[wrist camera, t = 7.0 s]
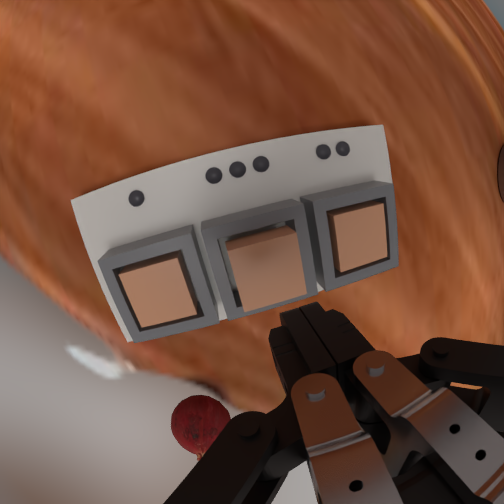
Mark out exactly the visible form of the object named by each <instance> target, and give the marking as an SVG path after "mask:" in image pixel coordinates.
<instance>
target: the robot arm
mask: <svg viewBox="0 0 504 504" xmlns="http://www.w3.org/2000/svg"><path fill="white" fill-rule="evenodd" d="M498 181H499V189H500V193H501V197H502V199H503V201H504V146H503V148H502V150H501V153H500V157H499V164H498ZM280 320H281V325H282V326H280V327H277V328H274V329H271V331H270V335H269V343H270V347H271V351H272V355H273V359H274V363H275V367H276V370H277V372H278V375H279V377H280V380H281V383H282V385H283V388H284V390H285V393H286V398H285V399H284V401H283V402H282V403H281V404H280V405H279V406H278V407H277V408H275V409H274V410H272V411H270V412H269V413H267V414H265V413H262V412H257V411H250V412H244V413H241V414H239V415H237V416H235V417H234V418H232V419H231V420H230V421H229V422H228V423H227V424H226V426H225V427H224V428H223V430H222V431H221V433H220V434H219V435H218V437H217V438H216V439H215V441H214V442H213V443H212V445H211V446H210V447H209V449H208V450H207V451H206V452H205V454H204V455H203V456H202V458H201V459H200V460H199V461H198V463H197V464H196V465H195V467H194V468H193V469H192V470H191V471H190V473H189V474H188V475H187V477H186V478H185V479H184V480H183V481H182V482H181V484H180V485H179V486H178V487H177V488H176V490H175V491H174V492H173V493H172V494H171V495H170V496H169V498H168V499H167V500H166V501H165V502H164V503H163V504H271V503H272V501H273V499H274V498H275V496H276V494H277V493H278V491H279V489H280V487H281V486H282V484H283V482H284V480H285V478H286V477H287V475H288V472H289V471H290V470H292V469H294V468H295V467H297V466H298V465H300V464H301V463H303V462H304V461H307V465H308V468H309V472H310V475H311V479H312V482H313V486H314V490H315V495H316V498H317V502H318V504H504V346H502V345H493V344H485V343H478V342H470V341H463V340H456V339H450V338H443V337H437V338H432V339H430V340H428V341H426V342H425V343H424V344H423V345H422V347H421V351H420V354H416V355H412V356H407V357H402V358H395V357H394V356H393V355H391V354H390V353H388V352H385V351H379V350H375V349H374V348H373V346H372V345H371V344H370V343H369V342H368V341H367V340H366V339H365V337H364V336H363V335H362V334H361V333H360V332H359V331H358V330H357V329H356V328H355V326H354V325H353V324H352V323H350V321H349V320H348V318H347V317H346V316H345V315H344V314H343V313H340V312H338V311H336V310H334V309H332V310H329V311H326V312H325V310H324V309H323V308H322V307H321V306H320V304H319V303H318V302H314V303H311V304H307V305H304V306H301V307H299V308H295V309H292V310H289V311H285V312H282V313H280ZM451 382H455V383H461V384H468V385H474V386H481V387H482V388H480V389H477V390H474V389H468V388H461V387H455V386H450V384H451ZM499 431H500V432H499Z"/></svg>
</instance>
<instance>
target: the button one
mask: <svg viewBox="0 0 504 504" xmlns="http://www.w3.org/2000/svg"><path fill="white" fill-rule="evenodd" d="M119 277H120V279H121V281H122V284H123V286H124V289H125V291H126V294H127V296H128V298H129V301H130V303H131V305H132V307H133V310H134V312H135V314H136V316H137V318H138V321H139V323H140V325H141V327H147V326H151V325H155V324H160V323H164V322H168V321H172V320H176V319H180V318H184V317H188V316H192V315H196V314H197V298H196V295H195V292H194V289H193V286H192V283H191V280H190V277H189V275H188V272H187V268H186V265H185V262H184V259H183V256H182V253H181V250H177V251H173V252H170V253H166V254H163V255H159V256H156V257H152V258H149V259H145V260H142V261H139V262H135V263H132V264H128V265H125V267H124V268H123V269H122V271H121V272H120V274H119Z"/></svg>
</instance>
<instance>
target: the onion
mask: <svg viewBox="0 0 504 504" xmlns="http://www.w3.org/2000/svg"><path fill="white" fill-rule="evenodd" d="M230 420H231V419H230V415H229V412H228V410H227V409H226V408H225V407H224V406H223V405H222V404H221V403H220V402H219V401H217V400H215V399H213V398H211V397H209V396H204V395H196V396H190V397H188V398H186V399H184V400H182V401H181V402H180V403H179V404H178V405H177V407H176V408H175V409H174V411H173V413H172V418H171V429H172V433H173V435H174V437H175V438H176V440H177V441H178V443H179V444H180V445H181V446H182V447H183V448H185V449H186V450H188V451H189V452H191V453H193V454H196V455H197V460H198V461H199V460H200V459H201V458H202V456H203V455H204V454H205V452H206V451H207V450H208V449H209V447H210V446H211V445H212V443H213V442H214V441H215V439H216V438H217V437H218V435H219V434H220V433H221V431H222V430H223V428H224V427H225V426H226V424H227V423H228V422H229V421H230Z"/></svg>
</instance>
